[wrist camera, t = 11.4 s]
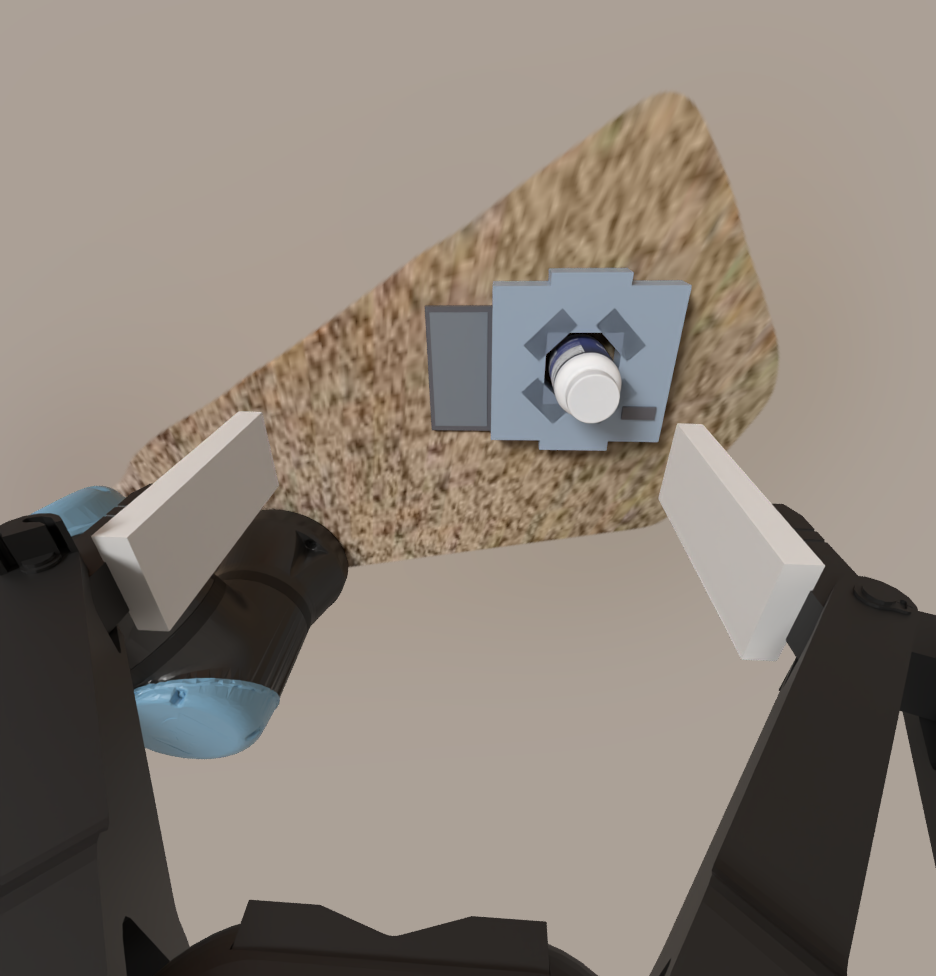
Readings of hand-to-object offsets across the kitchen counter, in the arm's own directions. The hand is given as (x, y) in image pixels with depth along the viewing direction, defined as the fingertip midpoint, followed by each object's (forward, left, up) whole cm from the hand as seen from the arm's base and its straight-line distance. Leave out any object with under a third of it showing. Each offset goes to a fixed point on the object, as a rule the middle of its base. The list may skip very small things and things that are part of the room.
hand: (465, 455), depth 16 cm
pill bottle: (+8, -6, -32) cm, 33 cm away
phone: (-3, -7, -32) cm, 33 cm away
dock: (+8, -6, -31) cm, 33 cm away
